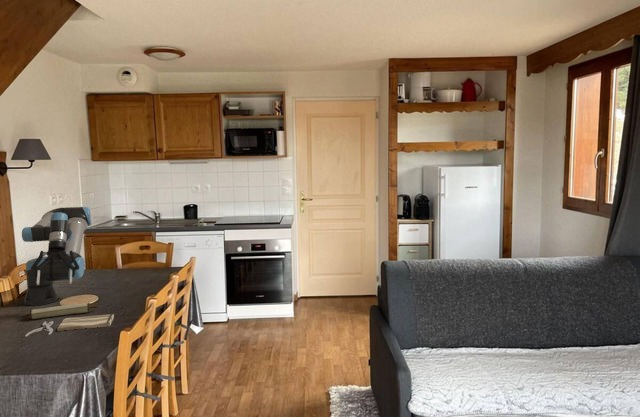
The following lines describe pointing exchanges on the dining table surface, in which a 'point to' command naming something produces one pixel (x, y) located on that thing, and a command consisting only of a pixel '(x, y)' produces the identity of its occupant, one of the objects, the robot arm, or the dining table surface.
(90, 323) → the marking board
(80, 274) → the robot arm
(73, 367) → the dining table surface
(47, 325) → the pliers
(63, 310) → the rolling pin
